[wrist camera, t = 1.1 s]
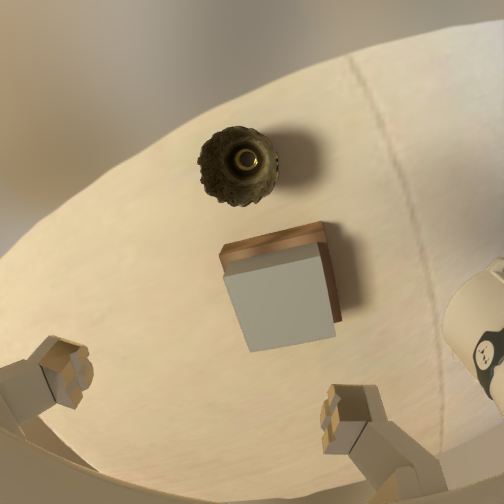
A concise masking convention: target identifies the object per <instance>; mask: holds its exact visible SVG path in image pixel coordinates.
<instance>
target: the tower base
mask: <svg viewBox="0 0 504 504" xmlns="http://www.w3.org/2000/svg"><path fill="white" fill-rule="evenodd" d="M313 242H317V245H318V249H319V253H320V257H321V261H322V266H323V271H324V276H325V281H326V285H327V290H328V295H329V301H330V306H331V311H332V316H333V322H334V323H336V322H341V321H342V317H341V311H340V306H339V300H338V295H337V290H336V285H335V279H334V274H333V269H332V265H331V260H330V255H329V250H328V246H327V241H326V237H325V232H324V229H323V226H322V223H321V221H319V222H315V223H311V224H307V225H303V226H298V227H294V228H290V229H286V230H282V231H278V232H274V233H270V234H266V235H262V236H257V237H253V238H249V239H245V240H241V241H237V242H233V243H229V244H225V245H224V246H223V248H222V250H221V252H220V254H219V258H220V261H221V264H222V267H223V269H224V272H225V271H226V268H227V266H228V263H229V262H230V261H235V260H239V259H243V258H248V257H252V256H257V255H261V254H265V253H270V252H274V251H278V250H283V249H287V248H291V247H296V246H300V245H304V244H309V243H313Z"/></svg>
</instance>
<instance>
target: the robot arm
mask: <svg viewBox="0 0 504 504" xmlns="http://www.w3.org/2000/svg"><path fill="white" fill-rule="evenodd" d="M503 268H504V258H502V257H498V258H497V259H495V260H494V261H493V262H492V263H491V264H490V265H489V267H488V268H487V269H486V270H485V271H483V272H482V273H480V274H478V275H476V276H474V277H473V278H471V279H470V280H469V281H467V282H466V283H465V284H464V285H463V286H462V287H461V288H460V289H459V290H458V291H457V293H456V294H455V295H454V297H453V298H452V300H451V301H450V303H449V305H448V307H447V309H446V312H445V314H444V318H443V323H442V333H443V337H444V339H445V341H446V343H447V344H448V345H449V346H450V347H451V349H452V356H453V359H454V360H455V361H456V362H458V363H459V362H461V363H462V364H463V365H464V367H465V368H466V369H467V370H468V372H469V373H470V374H471V376H472V377H473V378H474V380H475V381H477V382H480V384H481V387H482V389H483V391H484V392H485V393H486V394H487V396H488V397H489V398H490V399H492V400H494V402H495V404H496V406H497V407H498V409H499V411H500V413H501V415H502V417H503V419H504V269H503ZM88 356H89V351H88V348H87V347H86V346H85V345H82V344H79V343H76V342H72V341H69V340H66V339H63V338H60V337H57V336H54V335H50V336H48V337H47V338H46V339H45V340H44V341H43V342H42V344H41V345H40V346H39V347H38V348H37V349H36V350H35V351H34V352H33V354H32V355H31V356H30V357H29V358H28V359H27V360H24V359H23V360H20V361H18V362H15V363H12V364H10V365H7V366H5V367H2V368H0V504H226V503H219V502H212V501H206V500H200V499H195V498H189V497H184V496H180V495H175V494H170V493H166V492H162V491H158V490H154V489H150V488H146V487H143V486H139V485H136V484H132V483H129V482H126V481H122V480H119V479H116V478H113V477H110V476H107V475H104V474H102V473H99V472H96V471H93V470H91V469H88V468H85V467H83V466H80V465H78V464H76V463H73V462H71V461H68V460H66V459H64V458H61V457H59V456H57V455H55V454H53V453H51V452H48V451H46V450H44V449H42V448H40V447H38V446H36V445H34V444H32V443H30V442H28V441H26V437H25V434H24V433H23V431H22V430H21V428H20V426H21V425H23V424H24V423H26V422H27V421H29V420H31V419H32V418H34V417H36V416H37V415H39V414H41V413H42V412H44V411H45V410H47V409H49V408H50V407H52V406H54V405H55V404H56V403H58V404H60V405H63V406H66V407H69V408H72V409H76V407H77V406H78V404H79V403H80V401H81V399H82V398H83V394H82V391H84V390H86V389H88V388H89V386H90V385H91V383H92V379H93V375H94V374H93V366H92V363H91V362H90V361H89V360H88V359H87V357H88ZM327 393H328V399H327V400H325V401H324V403H323V406H322V409H321V415H320V423H321V428H322V429H323V430H324V431H325V432H324V435H323V437H322V444H323V454H344V455H346V454H349V455H348V456H349V457H350V459H351V460H352V461H353V462H354V464H355V465H356V466H357V467H358V469H359V470H360V471H361V472H362V474H363V475H364V476H365V477H366V479H367V480H368V481H369V482H370V483H371V485H372V486H373V487H374V488H375V490H376V492H375V494H373V496H372V497H371V498H370V499H369V500H368V501H367V502H366V503H365V504H504V473H502V474H499V475H497V476H494V477H491V478H488V479H485V480H483V481H479V482H476V483H473V484H470V485H467V486H463V487H460V488H456V489H453V490H449V491H448V488H447V484H446V481H445V478H444V475H443V472H442V469H441V466H440V463H439V460H438V459H436V458H435V457H434V456H433V455H432V454H430V453H429V452H428V451H427V450H426V449H424V448H423V447H422V446H421V445H420V444H419V443H417V442H416V441H415V440H414V439H413V438H411V437H410V436H409V435H408V434H407V433H406V432H404V431H403V430H402V429H401V428H400V427H398V426H397V425H396V424H395V423H394V422H393V421H388V419H387V416H386V413H385V409H384V406H383V403H382V400H381V397H380V393H379V390H378V387H377V386H376V385H344V384H331V386H330V387H329V389H328V392H327Z"/></svg>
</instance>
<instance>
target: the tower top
mask: <svg viewBox="0 0 504 504" xmlns="http://www.w3.org/2000/svg"><path fill="white" fill-rule="evenodd" d="M223 280H224V282H225V285H226V288H227V291H228V294H229V296H230V299H231V302H232V305H233V307H234V310H235V313H236V316H237V318H238V321H239V324H240V327H241V329H242V332H243V335H244V337H245V340H246V343H247V346H248V348H249V351H250V352H256V351H263V350H269V349H275V348H280V347H286V346H291V345H297V344H302V343H307V342H312V341H317V340H322V339H327V338H332V337H336V333H335V327H334V322H333V316H332V311H331V306H330V301H329V295H328V290H327V285H326V281H325V276H324V271H323V266H322V261H321V257H320V253H319V249H318V245H317V242H313V243H309V244H304V245H300V246H296V247H291V248H287V249H283V250H278V251H274V252H270V253H265V254H261V255H257V256H252V257H248V258H243V259H239V260H235V261H230V262H229V263H228V266H227V268H226V271H225V273H224V276H223Z"/></svg>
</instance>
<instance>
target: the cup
mask: <svg viewBox="0 0 504 504" xmlns="http://www.w3.org/2000/svg"><path fill="white" fill-rule="evenodd" d="M245 152H249V153H251V154H252V155H253V156H254V163H253V164H252V165H251V166H244V165H242V164H241V162H240V156H241V155H242V154H243V153H245ZM197 164H198V165H200V166H201V170H200V172H201V174H202V177H201V179H200V181H201V183H202V184H204V188H205V192H206V193H207V194H208V195H210V196H214V197H216V198H217V201H218V202H219V203H224V202H227V203H228V204H230V205H231V206H233V207H236V206H240V207H245V206H248V205H249V204H250V203H251V202H254V203H255V204H256V203H258V202H259V201H260V199H261V198H263V197H266V196H267V195H269V194H270V193H271V192H272V190H273V188H274V185H275V183H276V181H277V180H278V177H279V172H278V167H279V163H278V154H277V152H276V150H275V148H274V147H273V144H272V143H271V141H270V140H269V139H268V138H267V137H266V136H264V135H263V134H261V133H259V132H257V131H256V130H255V129H253V128H246V127H242V126H234V127H228V128H226V129H224V130H222V132H217V133H215V134H213V137H212V138H211V139H209V140H208V141H206V142H205V143H204V145H203V146H202V148H201V152H200V157H199V158H198V160H197Z"/></svg>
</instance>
